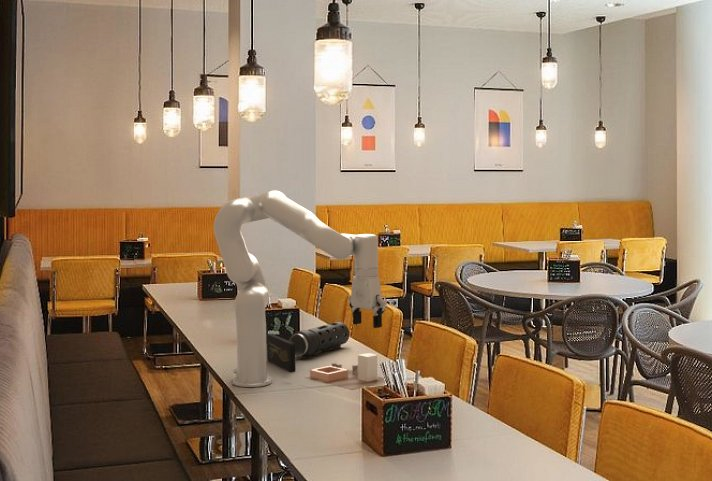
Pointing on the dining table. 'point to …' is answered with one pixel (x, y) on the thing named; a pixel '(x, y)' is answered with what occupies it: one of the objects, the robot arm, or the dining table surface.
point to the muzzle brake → (320, 339)
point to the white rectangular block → (367, 367)
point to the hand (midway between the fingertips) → (367, 325)
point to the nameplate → (281, 352)
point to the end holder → (329, 373)
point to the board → (350, 379)
